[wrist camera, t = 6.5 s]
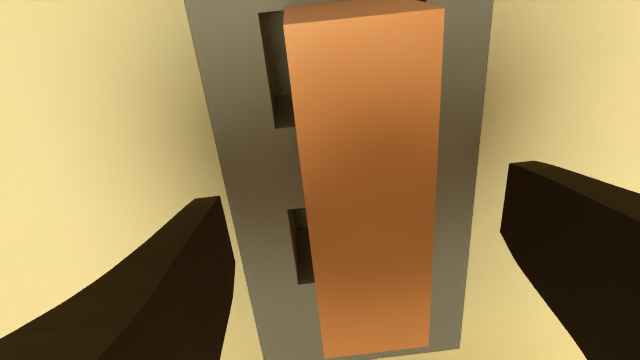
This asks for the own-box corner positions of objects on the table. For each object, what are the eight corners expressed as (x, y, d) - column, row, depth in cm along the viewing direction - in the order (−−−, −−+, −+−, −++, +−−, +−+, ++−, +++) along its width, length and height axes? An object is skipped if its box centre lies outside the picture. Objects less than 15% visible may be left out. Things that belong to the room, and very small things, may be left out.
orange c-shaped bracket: (382, 221, 18) (428, 346, 12) (312, 229, 18) (324, 358, 12) (377, -12, 13) (444, 8, 8) (284, -3, 13) (282, 24, 8)
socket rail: (433, 289, 20) (459, 348, 17) (269, 309, 20) (266, 371, 17) (457, -187, 12) (516, -239, 9) (177, -160, 12) (138, -204, 9)
